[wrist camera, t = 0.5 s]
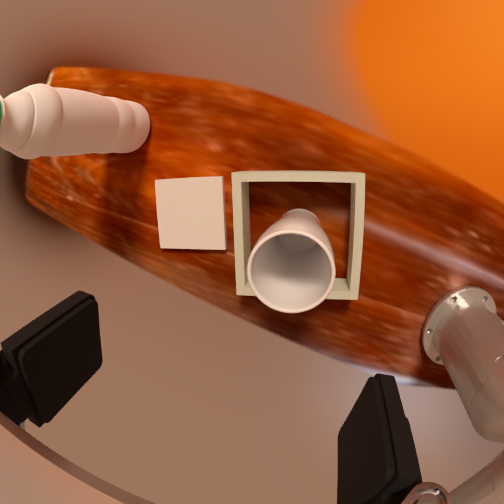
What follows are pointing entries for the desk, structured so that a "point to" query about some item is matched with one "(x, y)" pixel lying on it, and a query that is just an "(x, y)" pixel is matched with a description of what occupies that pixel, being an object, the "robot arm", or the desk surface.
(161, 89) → the desk surface
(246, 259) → the beige square frame
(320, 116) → the desk surface
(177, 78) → the desk surface
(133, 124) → the water bottle
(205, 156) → the desk surface
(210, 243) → the ceramic tile
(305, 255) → the drinking glass
